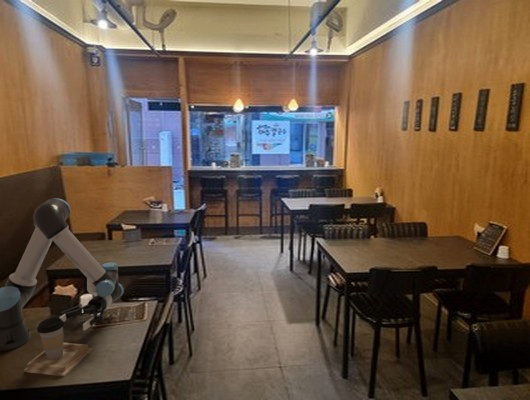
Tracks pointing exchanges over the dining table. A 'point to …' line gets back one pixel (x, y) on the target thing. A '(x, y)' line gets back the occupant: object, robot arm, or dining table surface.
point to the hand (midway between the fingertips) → (69, 326)
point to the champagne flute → (91, 289)
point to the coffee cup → (52, 337)
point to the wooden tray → (59, 360)
